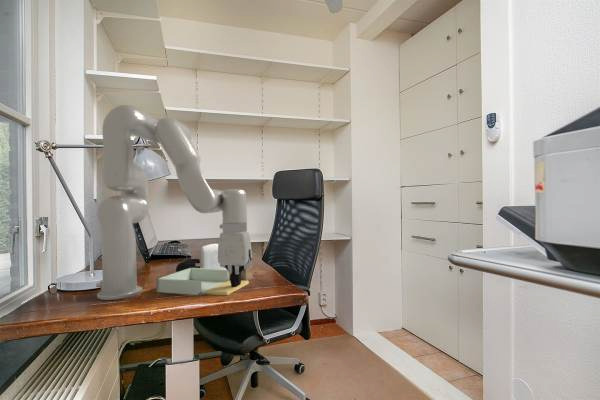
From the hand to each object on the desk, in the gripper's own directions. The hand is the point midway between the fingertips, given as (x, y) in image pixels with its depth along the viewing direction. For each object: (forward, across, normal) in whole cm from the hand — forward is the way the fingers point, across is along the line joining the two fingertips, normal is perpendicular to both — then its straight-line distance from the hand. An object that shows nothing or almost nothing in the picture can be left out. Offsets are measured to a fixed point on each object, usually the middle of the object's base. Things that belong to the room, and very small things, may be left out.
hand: (235, 285), depth 102 cm
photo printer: (+2, -20, +19) cm, 28 cm away
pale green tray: (+2, -15, 0) cm, 16 cm away
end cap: (+3, -29, +15) cm, 33 cm away
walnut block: (+2, -4, +13) cm, 14 cm away
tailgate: (+1, -7, 0) cm, 7 cm away
